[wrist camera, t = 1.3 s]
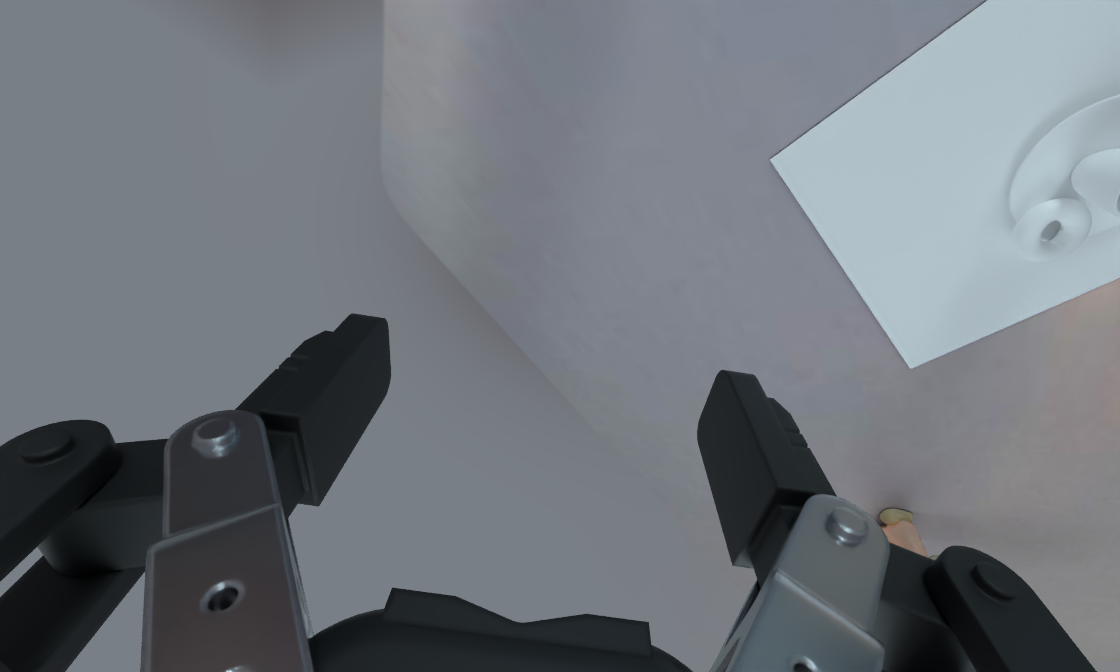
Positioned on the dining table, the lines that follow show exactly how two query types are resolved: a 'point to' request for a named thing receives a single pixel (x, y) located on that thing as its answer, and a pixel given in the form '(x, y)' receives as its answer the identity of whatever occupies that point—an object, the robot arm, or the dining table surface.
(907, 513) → the grandmother figurine
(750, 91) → the dining table surface
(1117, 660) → the dining table surface
